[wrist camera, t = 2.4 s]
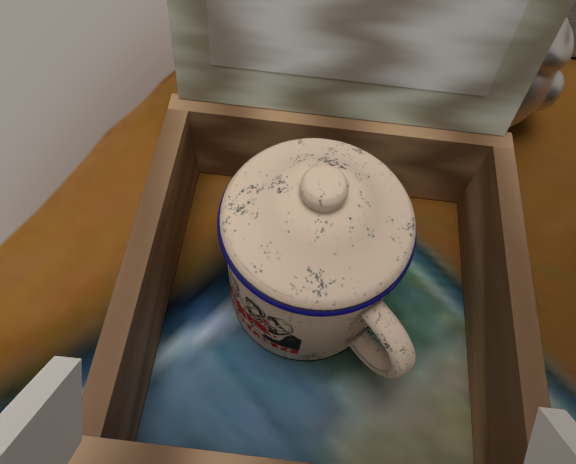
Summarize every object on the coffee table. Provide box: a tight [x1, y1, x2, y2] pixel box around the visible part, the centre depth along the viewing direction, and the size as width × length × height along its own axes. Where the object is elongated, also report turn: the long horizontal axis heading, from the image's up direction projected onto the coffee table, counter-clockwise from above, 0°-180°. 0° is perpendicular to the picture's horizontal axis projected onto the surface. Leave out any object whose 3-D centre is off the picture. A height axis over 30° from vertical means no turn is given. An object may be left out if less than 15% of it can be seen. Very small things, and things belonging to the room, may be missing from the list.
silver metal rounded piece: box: [509, 17, 574, 127], centre depth 34 cm, size 9×9×10 cm
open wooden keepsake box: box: [68, 0, 575, 464], centre depth 20 cm, size 20×27×26 cm
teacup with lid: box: [217, 138, 416, 379], centre depth 25 cm, size 12×9×12 cm
